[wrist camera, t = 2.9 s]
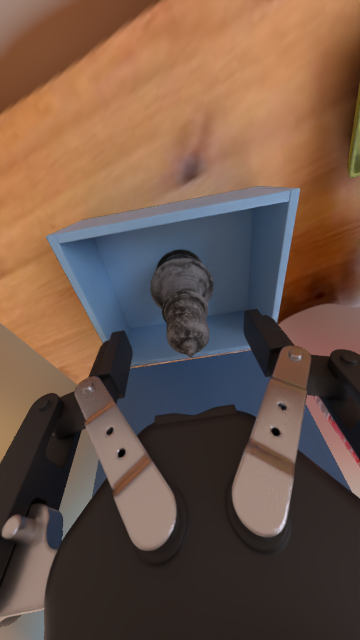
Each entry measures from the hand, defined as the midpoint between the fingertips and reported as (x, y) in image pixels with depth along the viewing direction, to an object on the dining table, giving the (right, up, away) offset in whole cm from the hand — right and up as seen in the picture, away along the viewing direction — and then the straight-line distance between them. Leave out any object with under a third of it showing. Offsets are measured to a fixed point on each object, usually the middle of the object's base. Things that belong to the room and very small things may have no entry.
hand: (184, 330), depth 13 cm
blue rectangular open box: (0, +6, +8) cm, 10 cm away
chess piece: (0, +6, +8) cm, 10 cm away
